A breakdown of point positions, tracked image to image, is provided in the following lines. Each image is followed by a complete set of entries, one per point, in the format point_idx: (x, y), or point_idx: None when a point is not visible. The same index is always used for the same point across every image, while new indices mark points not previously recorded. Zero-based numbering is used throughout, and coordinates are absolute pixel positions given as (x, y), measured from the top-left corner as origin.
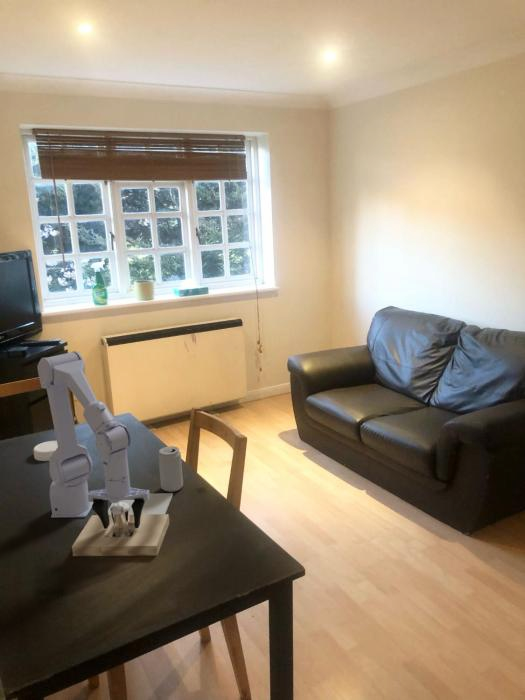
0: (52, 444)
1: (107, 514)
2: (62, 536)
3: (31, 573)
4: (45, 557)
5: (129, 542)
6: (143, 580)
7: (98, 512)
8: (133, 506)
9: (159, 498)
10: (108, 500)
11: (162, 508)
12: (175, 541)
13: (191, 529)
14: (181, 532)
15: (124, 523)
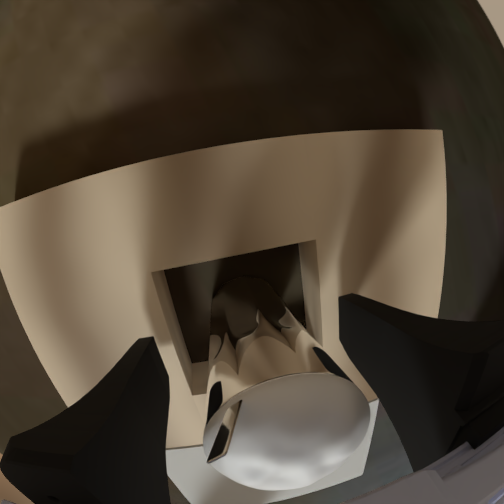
0: None
1: (373, 376)
2: (474, 259)
3: (468, 44)
4: (479, 128)
5: (130, 207)
6: (17, 33)
7: (453, 329)
8: (49, 460)
9: (225, 498)
10: (448, 475)
11: (183, 474)
12: (7, 316)
13: (14, 388)
14: (27, 372)
15: (222, 344)
